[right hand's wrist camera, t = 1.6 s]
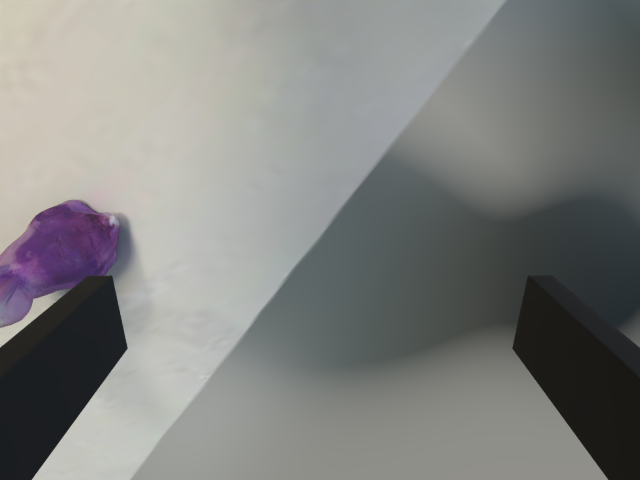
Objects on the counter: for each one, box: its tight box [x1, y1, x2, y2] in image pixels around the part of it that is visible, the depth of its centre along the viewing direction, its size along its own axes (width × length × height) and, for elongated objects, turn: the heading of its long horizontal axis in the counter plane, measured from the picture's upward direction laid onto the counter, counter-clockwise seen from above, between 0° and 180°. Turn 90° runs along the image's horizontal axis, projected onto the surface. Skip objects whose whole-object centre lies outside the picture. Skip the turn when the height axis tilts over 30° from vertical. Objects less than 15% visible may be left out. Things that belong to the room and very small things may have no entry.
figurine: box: [0, 200, 119, 328], centre depth 35 cm, size 9×10×15 cm
